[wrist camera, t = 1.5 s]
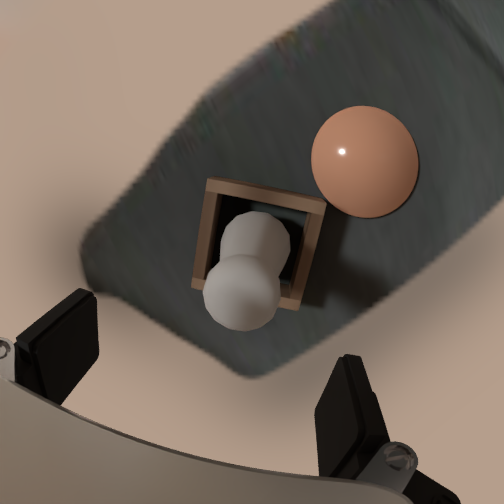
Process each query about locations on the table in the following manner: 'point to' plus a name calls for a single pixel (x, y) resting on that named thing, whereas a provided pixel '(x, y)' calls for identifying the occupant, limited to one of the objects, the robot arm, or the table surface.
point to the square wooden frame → (266, 194)
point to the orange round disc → (364, 161)
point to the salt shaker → (248, 272)
